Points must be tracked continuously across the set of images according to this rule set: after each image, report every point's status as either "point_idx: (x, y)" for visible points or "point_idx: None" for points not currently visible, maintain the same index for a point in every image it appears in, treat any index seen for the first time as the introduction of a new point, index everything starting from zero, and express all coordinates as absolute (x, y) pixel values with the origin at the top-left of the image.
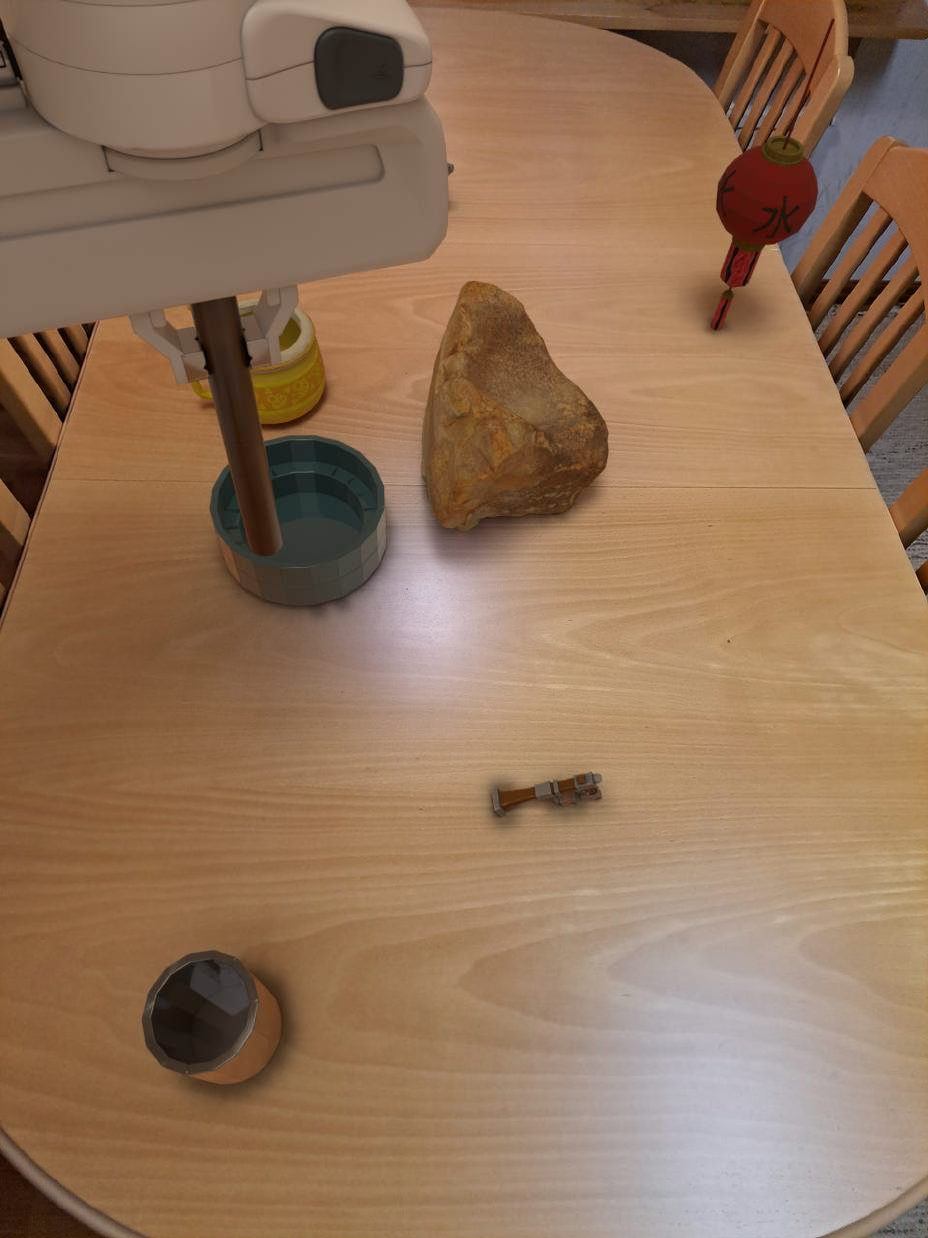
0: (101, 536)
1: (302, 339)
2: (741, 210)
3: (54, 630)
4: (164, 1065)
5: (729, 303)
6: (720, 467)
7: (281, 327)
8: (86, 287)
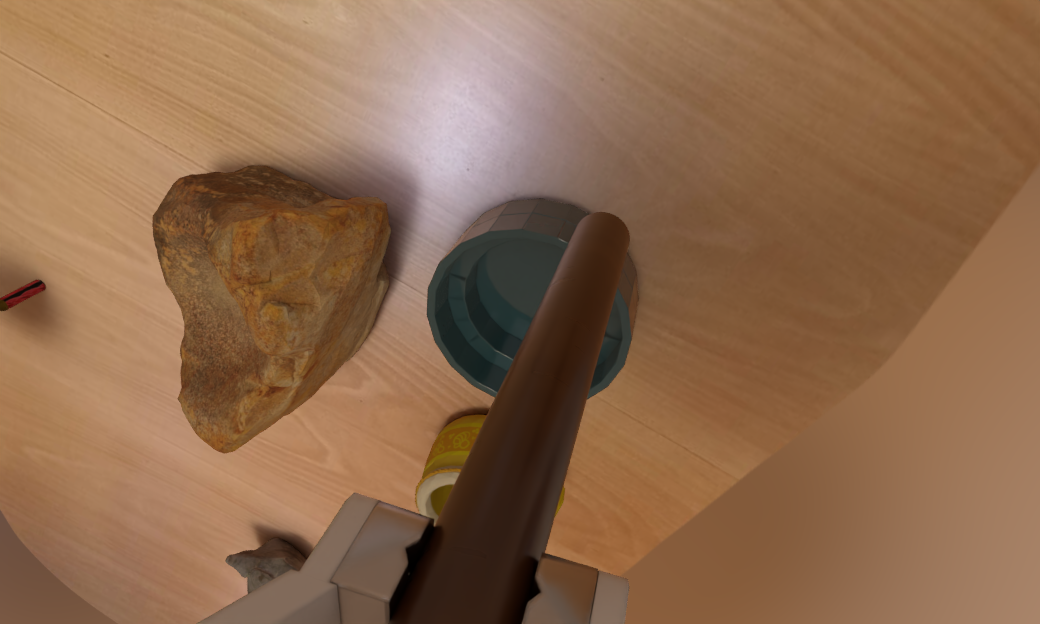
0: (736, 403)
1: (432, 485)
2: None
3: (849, 333)
4: None
5: (5, 296)
6: (76, 123)
7: (269, 592)
8: None
